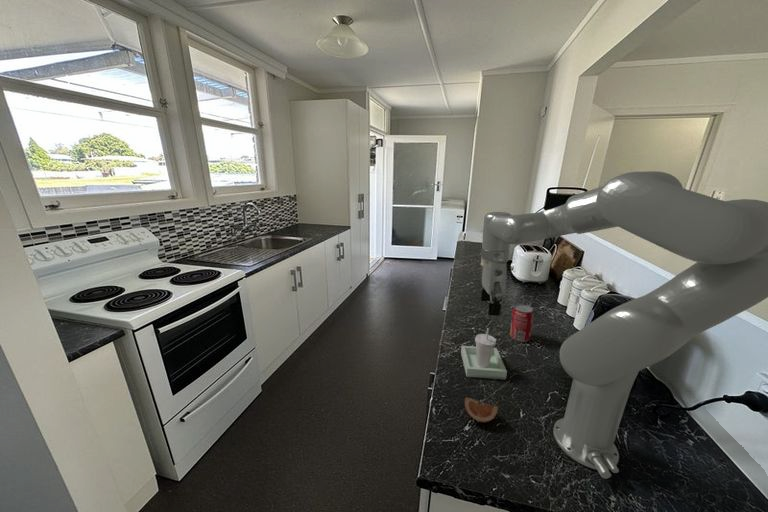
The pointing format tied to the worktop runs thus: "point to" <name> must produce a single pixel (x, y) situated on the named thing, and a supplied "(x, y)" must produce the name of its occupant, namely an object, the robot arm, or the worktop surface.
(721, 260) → the robot arm
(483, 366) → the smoothie
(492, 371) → the tray
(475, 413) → the fruit slice
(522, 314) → the soda can
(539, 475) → the worktop surface
